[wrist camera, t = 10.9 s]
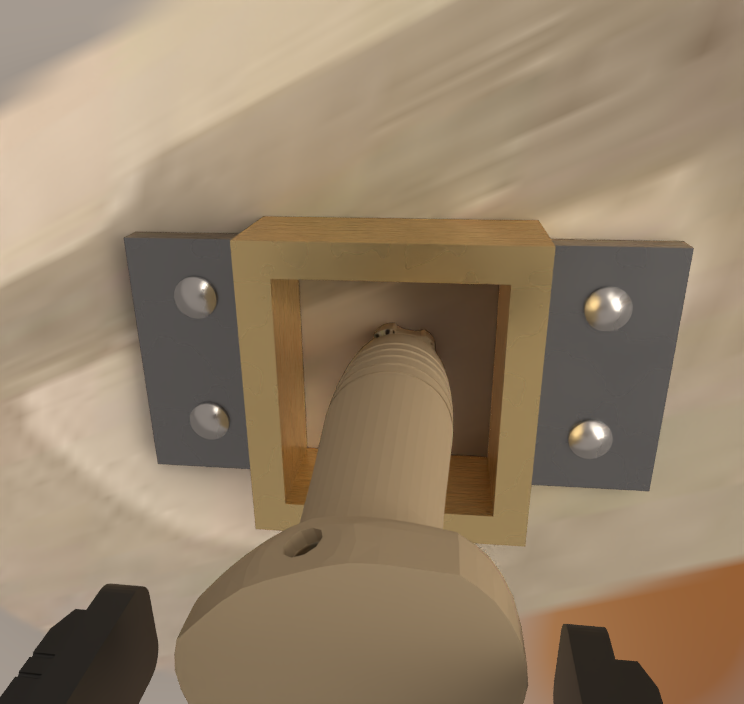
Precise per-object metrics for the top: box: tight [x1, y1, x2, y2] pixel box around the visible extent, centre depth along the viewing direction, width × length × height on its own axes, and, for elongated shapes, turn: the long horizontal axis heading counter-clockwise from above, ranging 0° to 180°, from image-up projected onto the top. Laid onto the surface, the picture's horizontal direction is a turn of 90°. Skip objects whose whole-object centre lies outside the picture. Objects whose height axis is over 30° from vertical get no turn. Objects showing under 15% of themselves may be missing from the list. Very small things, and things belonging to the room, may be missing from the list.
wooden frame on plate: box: [124, 216, 694, 546], centre depth 24 cm, size 11×20×4 cm, turn 90°
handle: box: [174, 323, 528, 704], centre depth 19 cm, size 5×6×15 cm
